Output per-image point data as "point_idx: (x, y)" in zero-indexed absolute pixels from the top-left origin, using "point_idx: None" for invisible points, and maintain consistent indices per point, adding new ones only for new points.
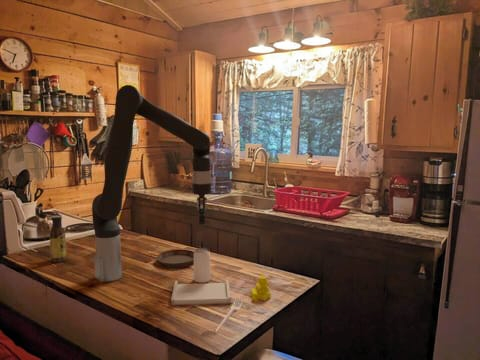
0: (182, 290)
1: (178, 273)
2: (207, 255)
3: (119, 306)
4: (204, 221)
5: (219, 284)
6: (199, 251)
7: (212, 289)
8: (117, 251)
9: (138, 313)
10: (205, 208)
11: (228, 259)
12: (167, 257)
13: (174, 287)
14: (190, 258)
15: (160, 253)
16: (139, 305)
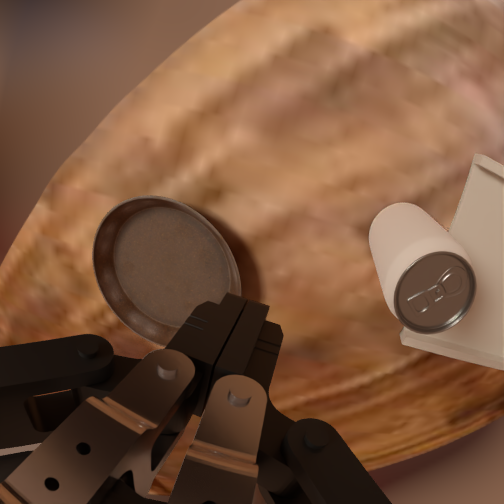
0: (455, 325)
1: (296, 299)
2: (472, 267)
3: (432, 445)
4: (264, 321)
5: (476, 192)
6: (433, 307)
7: (499, 233)
8: (260, 501)
9: (484, 418)
10: (253, 489)
11: (198, 53)
12: (129, 292)
13: (449, 354)
14: (154, 216)
15: (124, 323)
16: (455, 418)
